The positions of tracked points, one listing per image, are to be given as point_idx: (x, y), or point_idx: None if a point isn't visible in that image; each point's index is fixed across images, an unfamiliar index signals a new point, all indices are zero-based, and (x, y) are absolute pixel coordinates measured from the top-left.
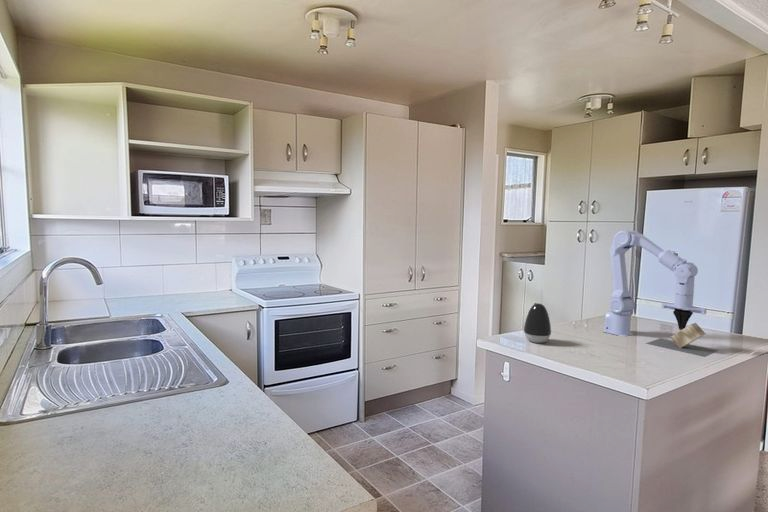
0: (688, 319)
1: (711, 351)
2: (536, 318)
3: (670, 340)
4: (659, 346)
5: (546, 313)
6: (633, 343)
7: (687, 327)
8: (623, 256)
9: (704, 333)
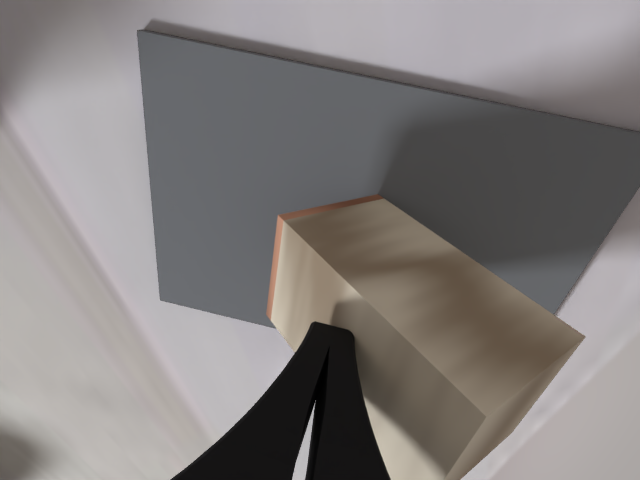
0: (377, 462)
1: (583, 226)
2: None
3: (233, 64)
4: (244, 317)
5: None
6: (115, 313)
7: (387, 460)
8: None
9: (567, 358)
